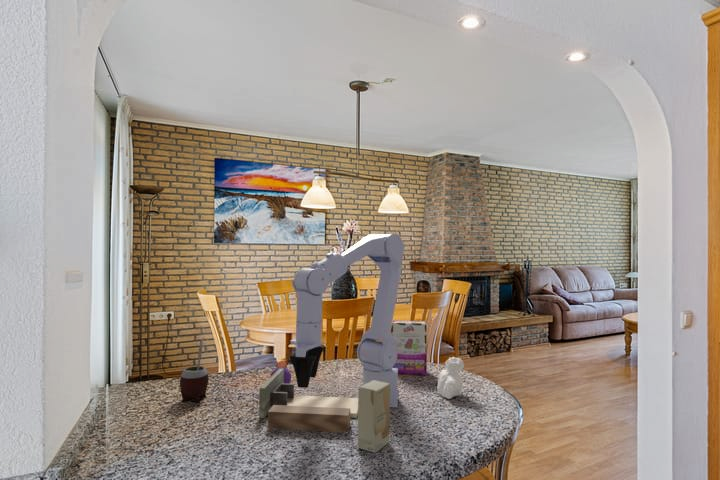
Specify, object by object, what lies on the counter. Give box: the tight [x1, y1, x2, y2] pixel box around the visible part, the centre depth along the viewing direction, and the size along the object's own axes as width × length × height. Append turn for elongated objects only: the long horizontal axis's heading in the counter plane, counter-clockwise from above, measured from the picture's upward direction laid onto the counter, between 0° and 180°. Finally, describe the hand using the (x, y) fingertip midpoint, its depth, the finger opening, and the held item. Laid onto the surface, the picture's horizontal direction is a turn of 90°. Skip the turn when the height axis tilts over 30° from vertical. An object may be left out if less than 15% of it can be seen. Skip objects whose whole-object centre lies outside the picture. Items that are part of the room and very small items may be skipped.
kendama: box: [269, 360, 292, 384], centre depth 126 cm, size 6×6×20 cm
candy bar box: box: [391, 320, 428, 376], centre depth 135 cm, size 11×5×16 cm, turn 81°
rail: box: [267, 405, 351, 433], centre depth 94 cm, size 18×4×4 cm, turn 84°
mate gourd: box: [179, 337, 210, 404], centre depth 110 cm, size 8×8×15 cm
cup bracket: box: [258, 369, 358, 419], centre depth 105 cm, size 23×16×7 cm
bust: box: [436, 356, 465, 400], centre depth 115 cm, size 12×8×11 cm
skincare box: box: [357, 380, 391, 453], centre depth 85 cm, size 6×4×12 cm
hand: (307, 381), depth 94 cm, fingers open, 7 cm apart
